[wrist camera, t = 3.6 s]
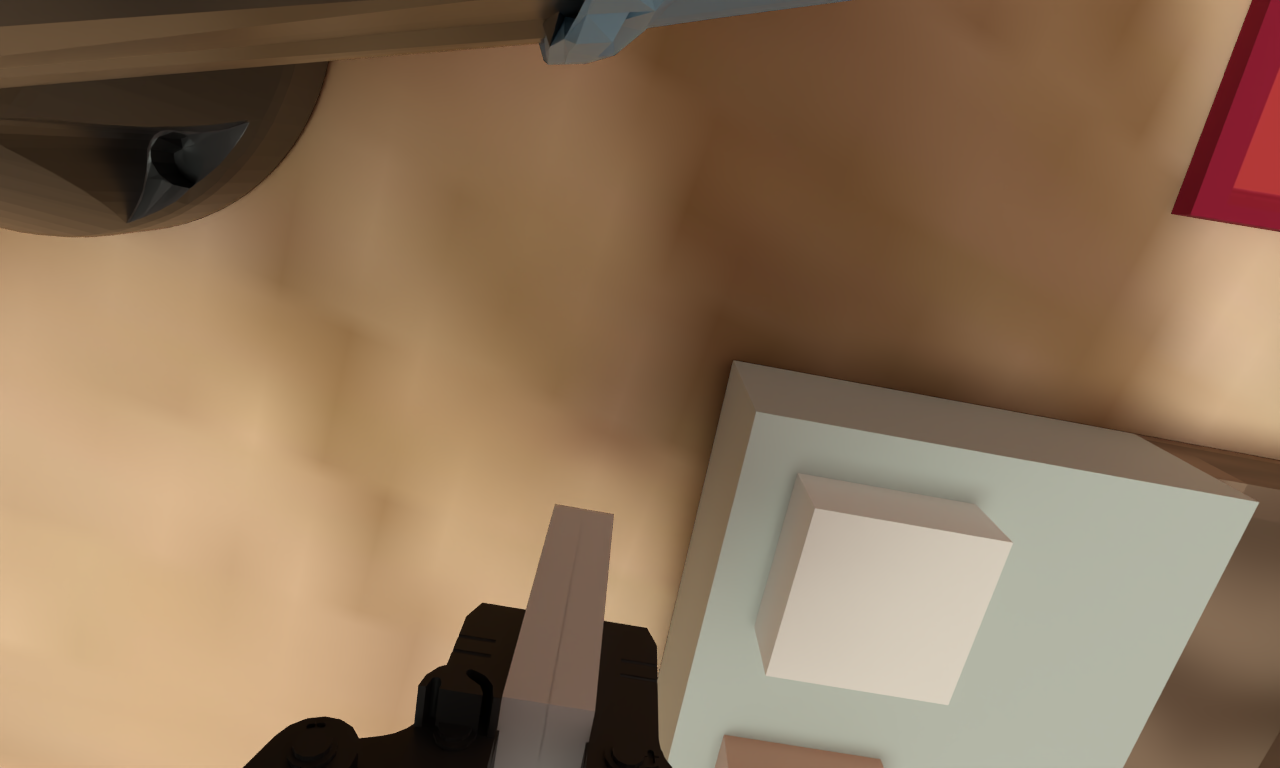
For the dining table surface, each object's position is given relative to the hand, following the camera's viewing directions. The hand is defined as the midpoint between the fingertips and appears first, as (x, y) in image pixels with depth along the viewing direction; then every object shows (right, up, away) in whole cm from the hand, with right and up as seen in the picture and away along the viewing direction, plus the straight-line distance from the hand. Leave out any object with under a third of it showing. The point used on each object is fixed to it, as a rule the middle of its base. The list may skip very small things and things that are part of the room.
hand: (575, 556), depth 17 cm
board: (+10, -4, +8) cm, 14 cm away
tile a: (+8, -1, +2) cm, 8 cm away
